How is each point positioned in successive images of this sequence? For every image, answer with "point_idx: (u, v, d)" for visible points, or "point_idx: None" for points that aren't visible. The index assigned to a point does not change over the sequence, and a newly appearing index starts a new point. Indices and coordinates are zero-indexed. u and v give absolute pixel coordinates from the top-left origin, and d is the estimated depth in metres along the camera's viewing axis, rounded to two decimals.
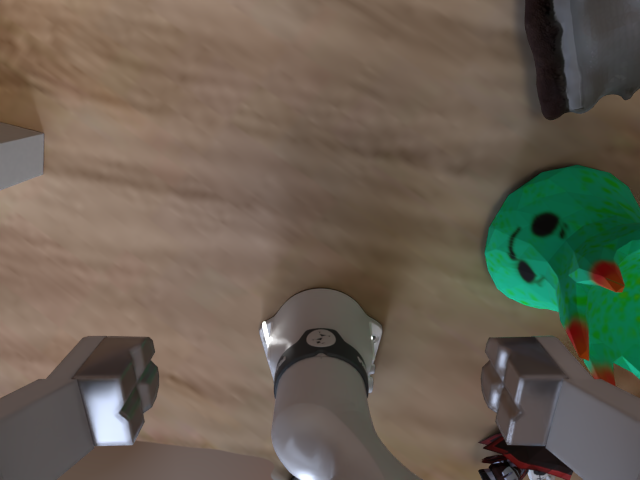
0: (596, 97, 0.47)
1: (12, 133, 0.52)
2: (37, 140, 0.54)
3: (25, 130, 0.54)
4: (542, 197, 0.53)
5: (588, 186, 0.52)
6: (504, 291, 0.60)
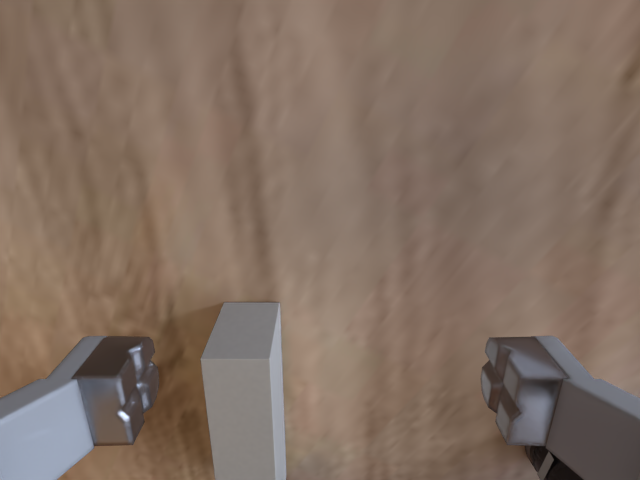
0: None
1: None
2: (228, 309, 0.41)
3: None
4: None
5: None
6: None
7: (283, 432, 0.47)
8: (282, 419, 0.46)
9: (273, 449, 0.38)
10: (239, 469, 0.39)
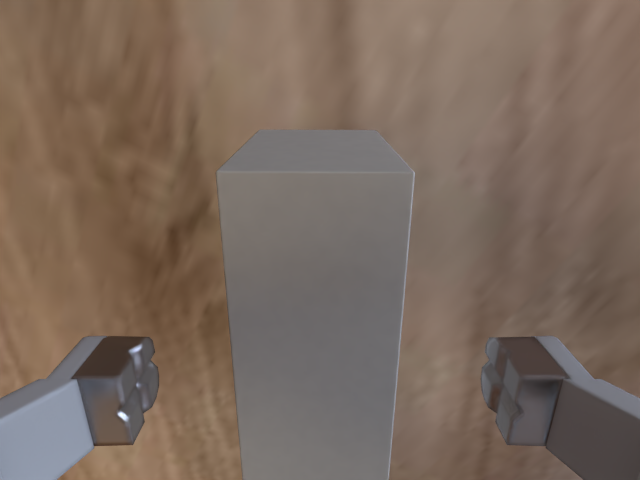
0: None
1: None
2: (271, 133, 0.19)
3: None
4: None
5: None
6: None
7: None
8: None
9: (390, 435, 0.15)
10: None
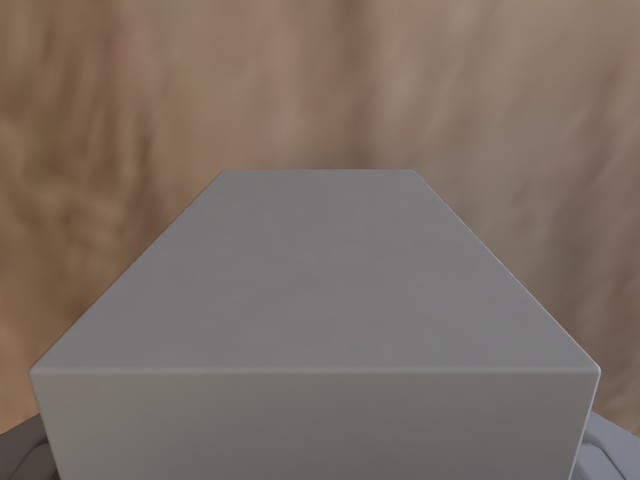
0: None
1: None
2: (239, 180, 0.11)
3: None
4: None
5: None
6: None
7: None
8: None
9: None
10: None
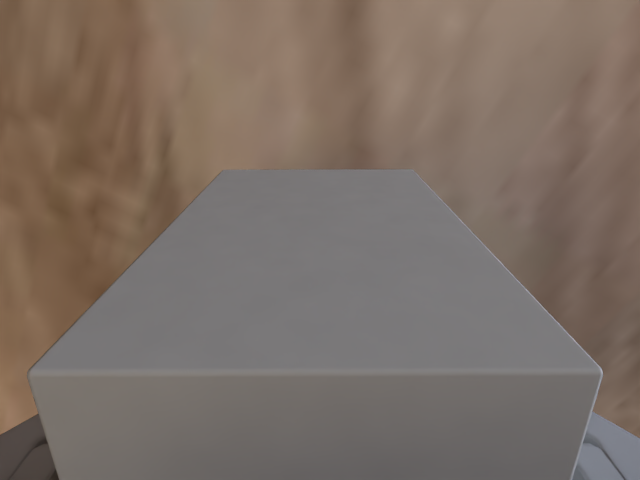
0: None
1: None
2: (239, 180, 0.11)
3: None
4: None
5: None
6: None
7: None
8: None
9: None
10: None
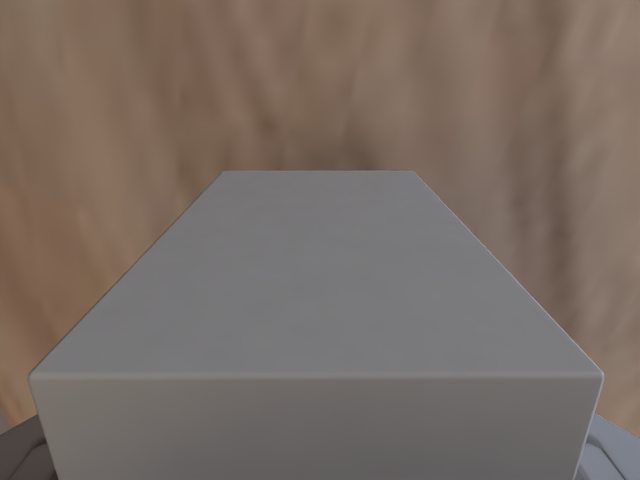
0: None
1: None
2: (239, 181, 0.11)
3: None
4: None
5: None
6: None
7: None
8: None
9: None
10: None
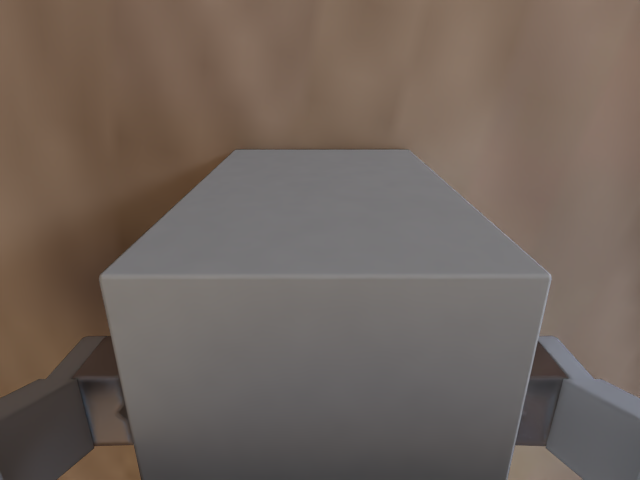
0: None
1: None
2: (250, 157, 0.12)
3: None
4: None
5: None
6: None
7: None
8: None
9: None
10: None
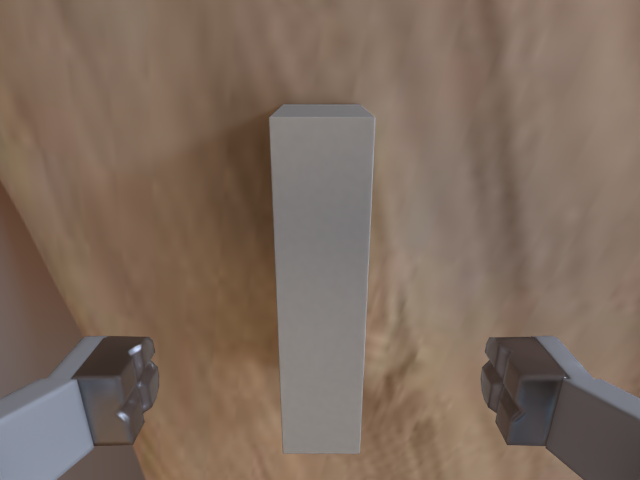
0: None
1: None
2: (291, 105, 0.29)
3: None
4: None
5: None
6: None
7: None
8: None
9: (366, 282, 0.26)
10: (313, 316, 0.27)
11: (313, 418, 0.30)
